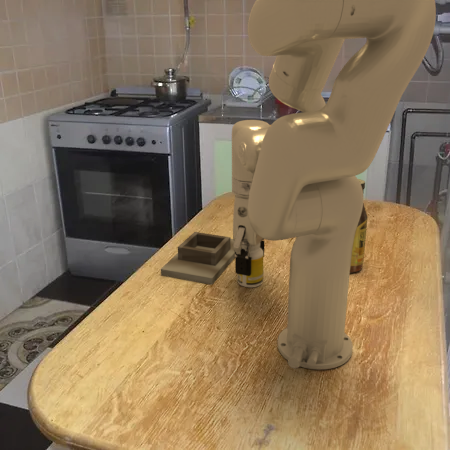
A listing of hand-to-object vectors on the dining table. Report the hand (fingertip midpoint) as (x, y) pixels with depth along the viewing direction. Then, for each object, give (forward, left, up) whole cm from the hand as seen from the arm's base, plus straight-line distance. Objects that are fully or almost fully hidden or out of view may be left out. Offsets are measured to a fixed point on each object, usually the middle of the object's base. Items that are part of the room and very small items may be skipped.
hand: (250, 264), depth 114 cm
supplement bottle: (0, 0, -4) cm, 4 cm away
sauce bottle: (+14, -18, -4) cm, 23 cm away
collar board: (+6, +13, -4) cm, 15 cm away
